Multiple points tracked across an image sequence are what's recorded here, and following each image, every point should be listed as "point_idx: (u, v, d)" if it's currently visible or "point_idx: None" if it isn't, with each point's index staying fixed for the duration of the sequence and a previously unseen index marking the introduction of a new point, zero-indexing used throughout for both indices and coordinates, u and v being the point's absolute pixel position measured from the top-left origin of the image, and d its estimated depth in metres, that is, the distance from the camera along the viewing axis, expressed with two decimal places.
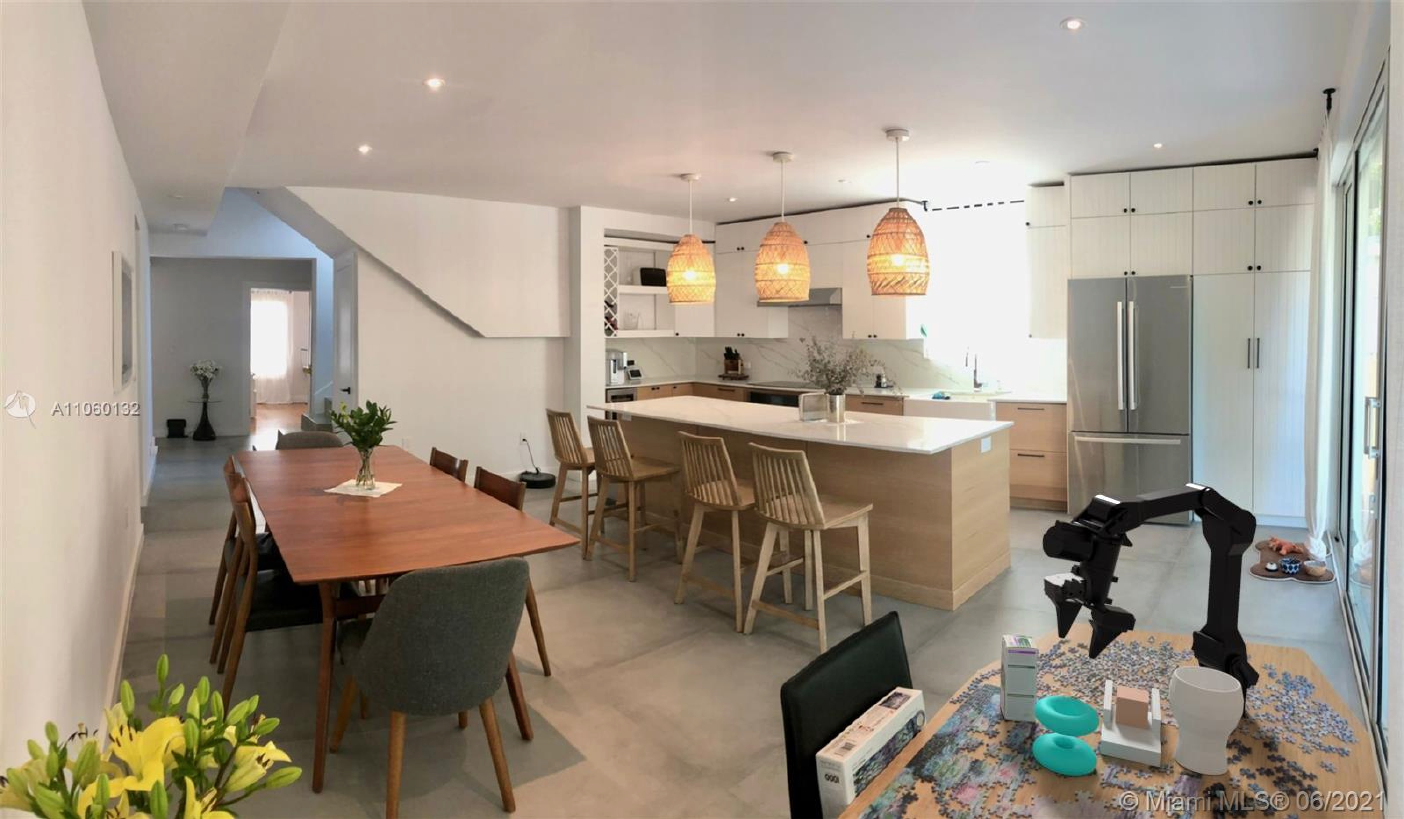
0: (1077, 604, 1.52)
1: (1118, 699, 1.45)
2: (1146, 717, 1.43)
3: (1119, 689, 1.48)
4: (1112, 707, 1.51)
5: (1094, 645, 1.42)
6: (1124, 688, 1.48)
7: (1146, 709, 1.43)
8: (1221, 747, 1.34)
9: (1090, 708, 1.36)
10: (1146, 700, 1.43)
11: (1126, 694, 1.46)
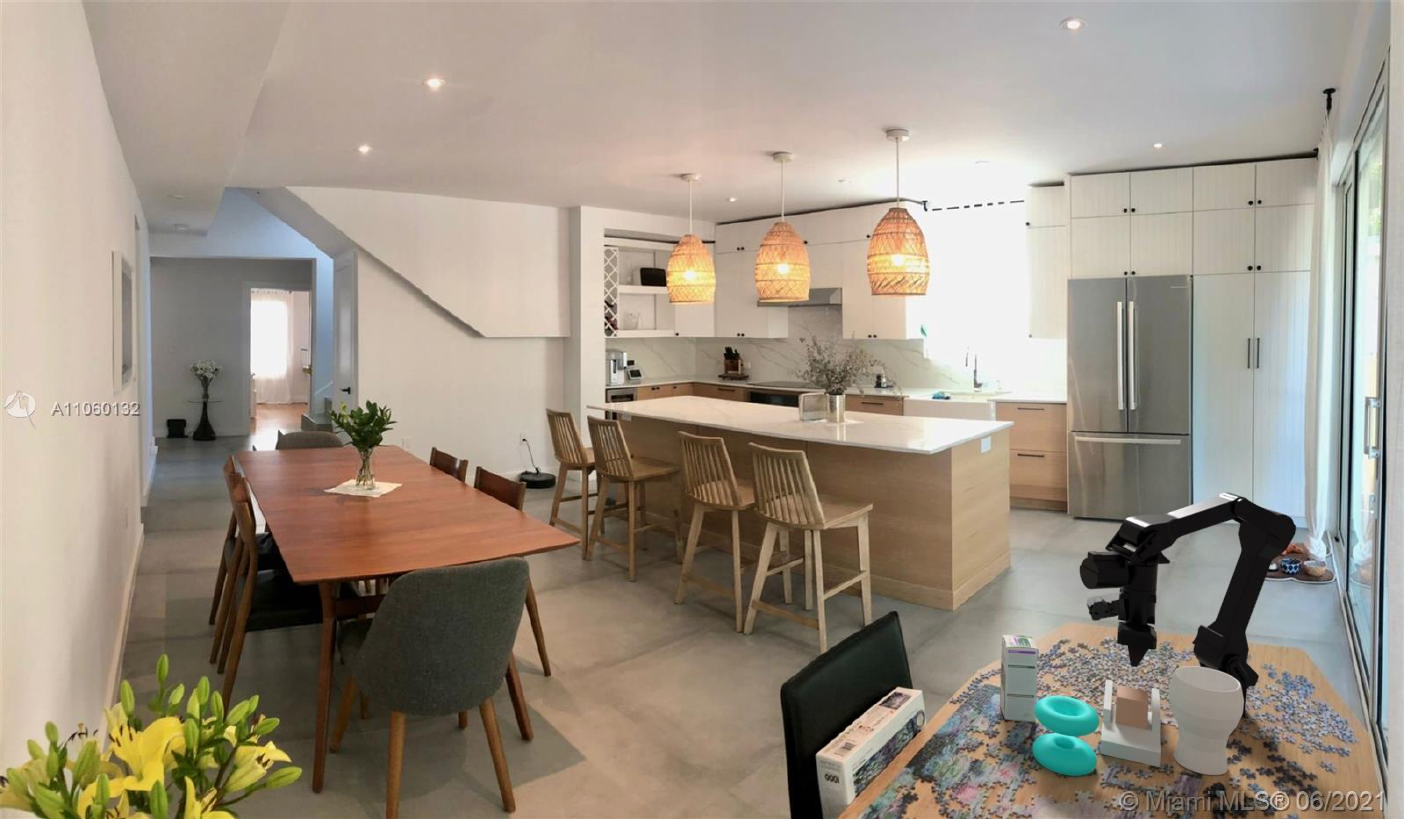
0: None
1: (1118, 699, 1.45)
2: (1146, 717, 1.43)
3: (1119, 689, 1.48)
4: (1112, 707, 1.51)
5: (1129, 654, 1.52)
6: (1124, 688, 1.48)
7: (1146, 709, 1.43)
8: (1221, 747, 1.34)
9: (1090, 708, 1.36)
10: (1146, 700, 1.43)
11: (1126, 694, 1.46)
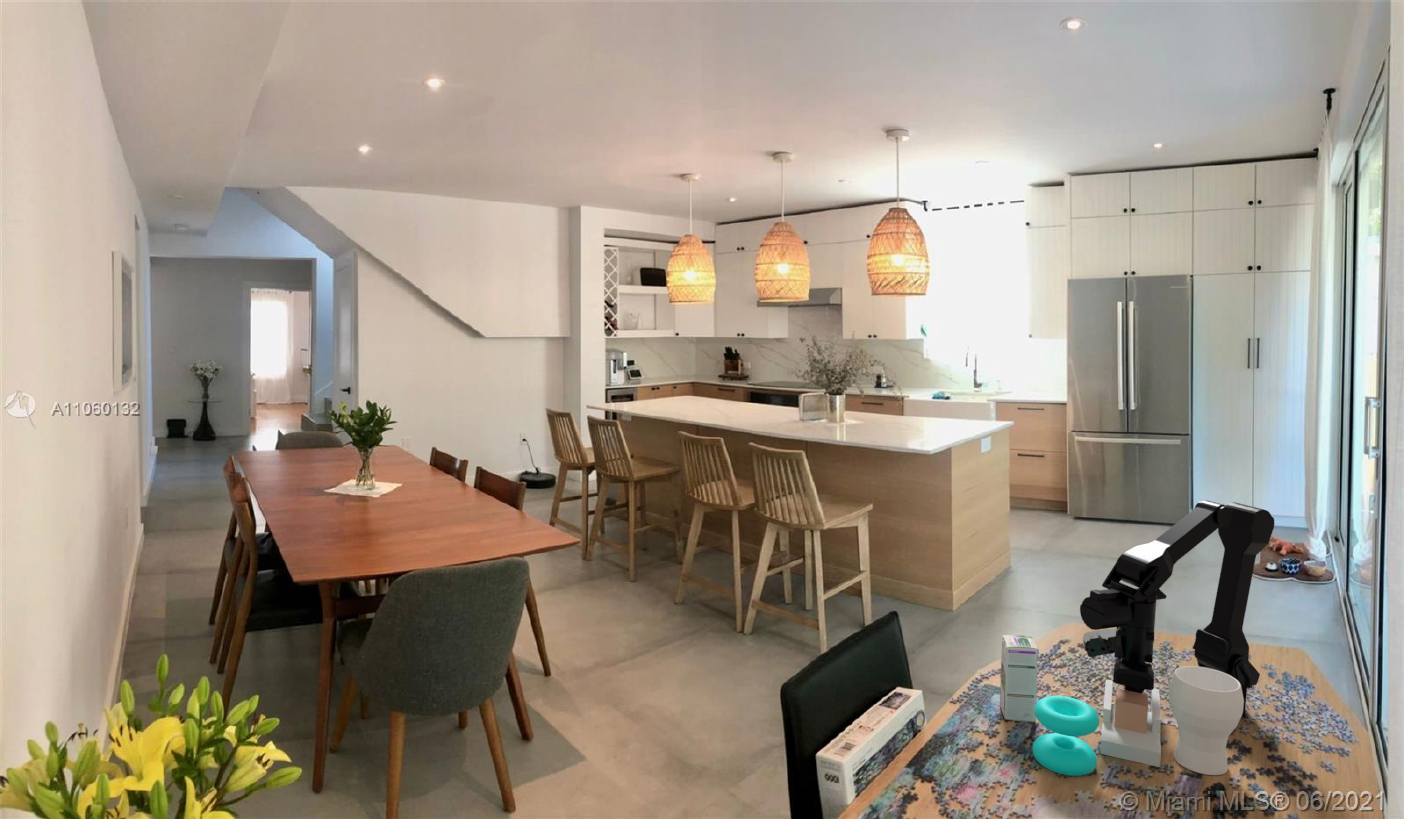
0: None
1: (1117, 703, 1.44)
2: (1145, 721, 1.42)
3: (1119, 692, 1.46)
4: (1112, 707, 1.51)
5: None
6: (1123, 692, 1.47)
7: (1145, 713, 1.42)
8: (1221, 747, 1.34)
9: (1090, 708, 1.36)
10: (1145, 704, 1.42)
11: (1125, 697, 1.45)
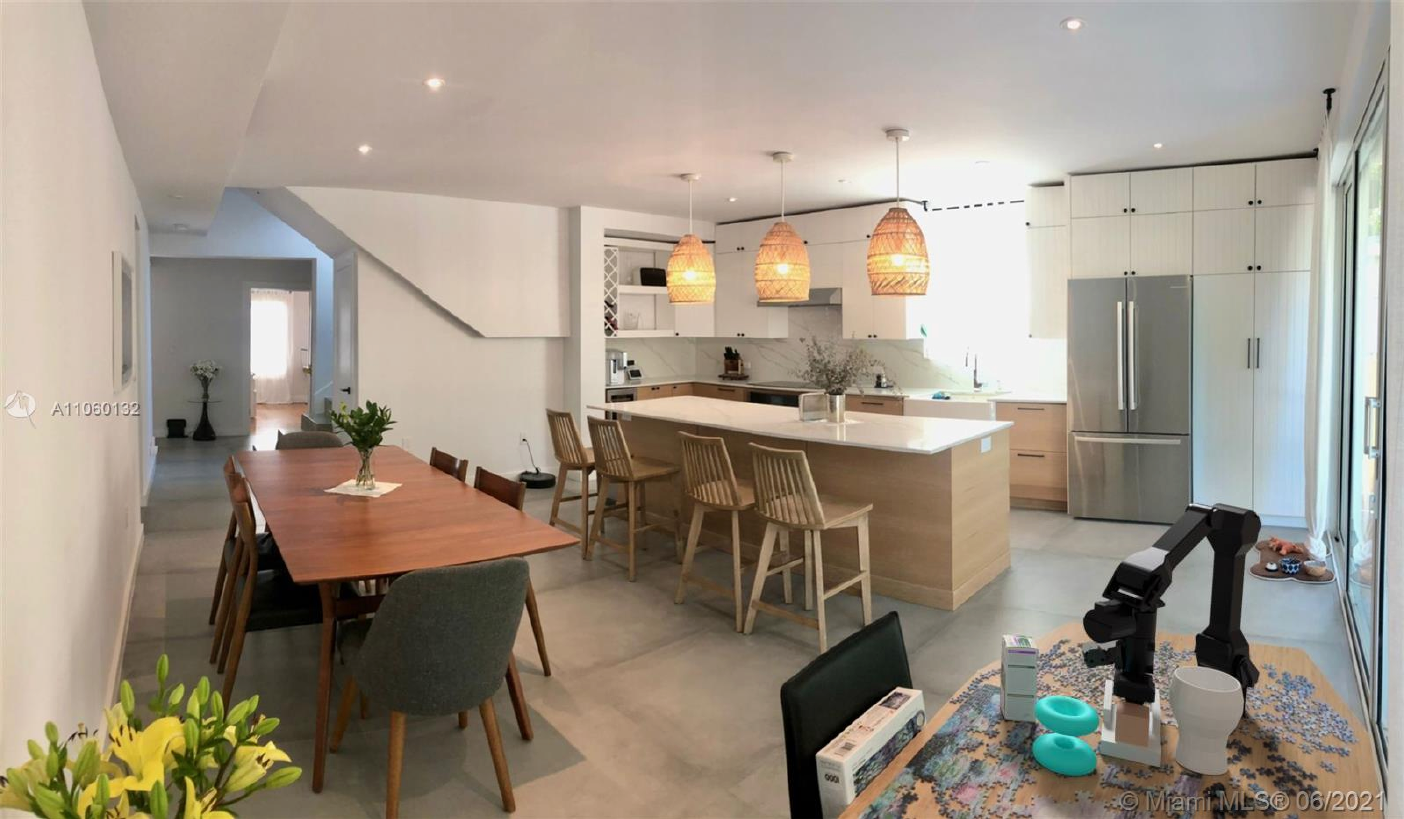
0: None
1: (1118, 715, 1.39)
2: (1147, 734, 1.37)
3: (1119, 704, 1.42)
4: (1112, 707, 1.51)
5: None
6: (1124, 703, 1.42)
7: (1147, 726, 1.37)
8: (1221, 747, 1.34)
9: (1090, 708, 1.36)
10: (1147, 717, 1.38)
11: (1126, 709, 1.40)
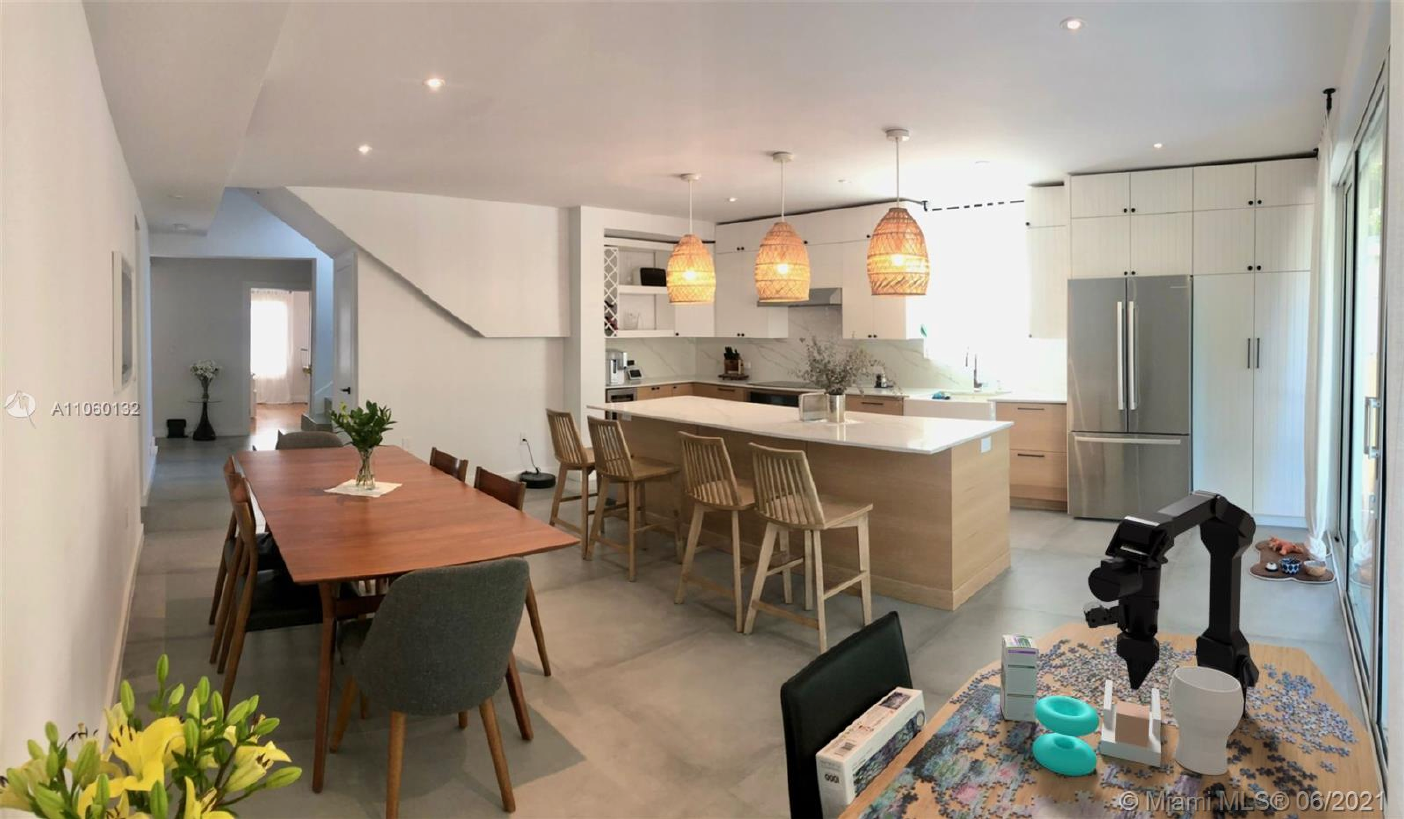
0: (1148, 632, 1.43)
1: (1118, 715, 1.39)
2: (1147, 734, 1.37)
3: (1119, 705, 1.42)
4: (1112, 707, 1.51)
5: (1129, 675, 1.35)
6: (1124, 704, 1.42)
7: (1147, 726, 1.37)
8: (1221, 747, 1.34)
9: (1090, 708, 1.36)
10: (1147, 717, 1.38)
11: (1126, 709, 1.40)
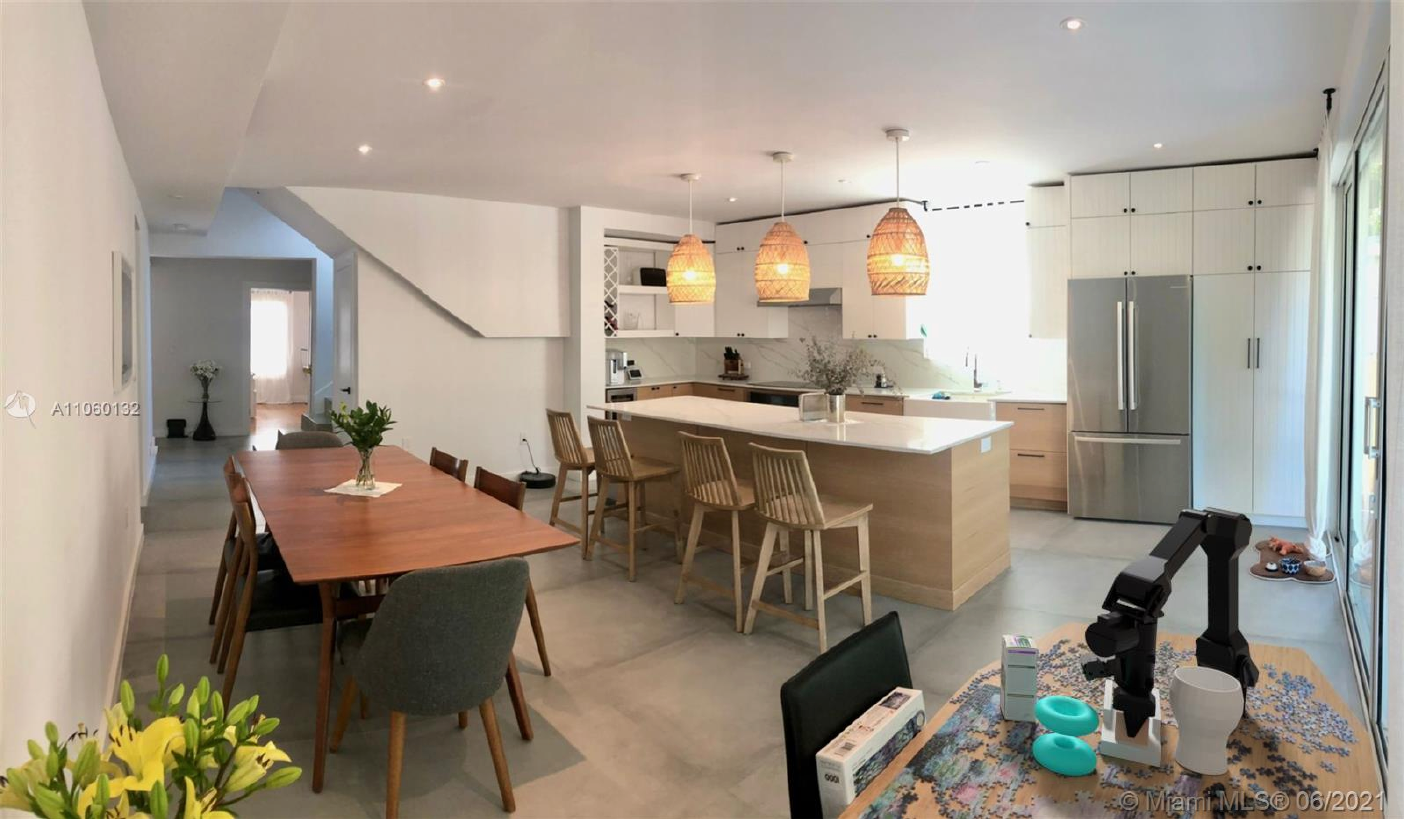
0: (1145, 688, 1.42)
1: (1118, 714, 1.40)
2: (1147, 733, 1.38)
3: None
4: (1112, 707, 1.51)
5: (1126, 723, 1.38)
6: None
7: (1147, 725, 1.38)
8: (1221, 747, 1.34)
9: (1090, 708, 1.36)
10: None
11: None
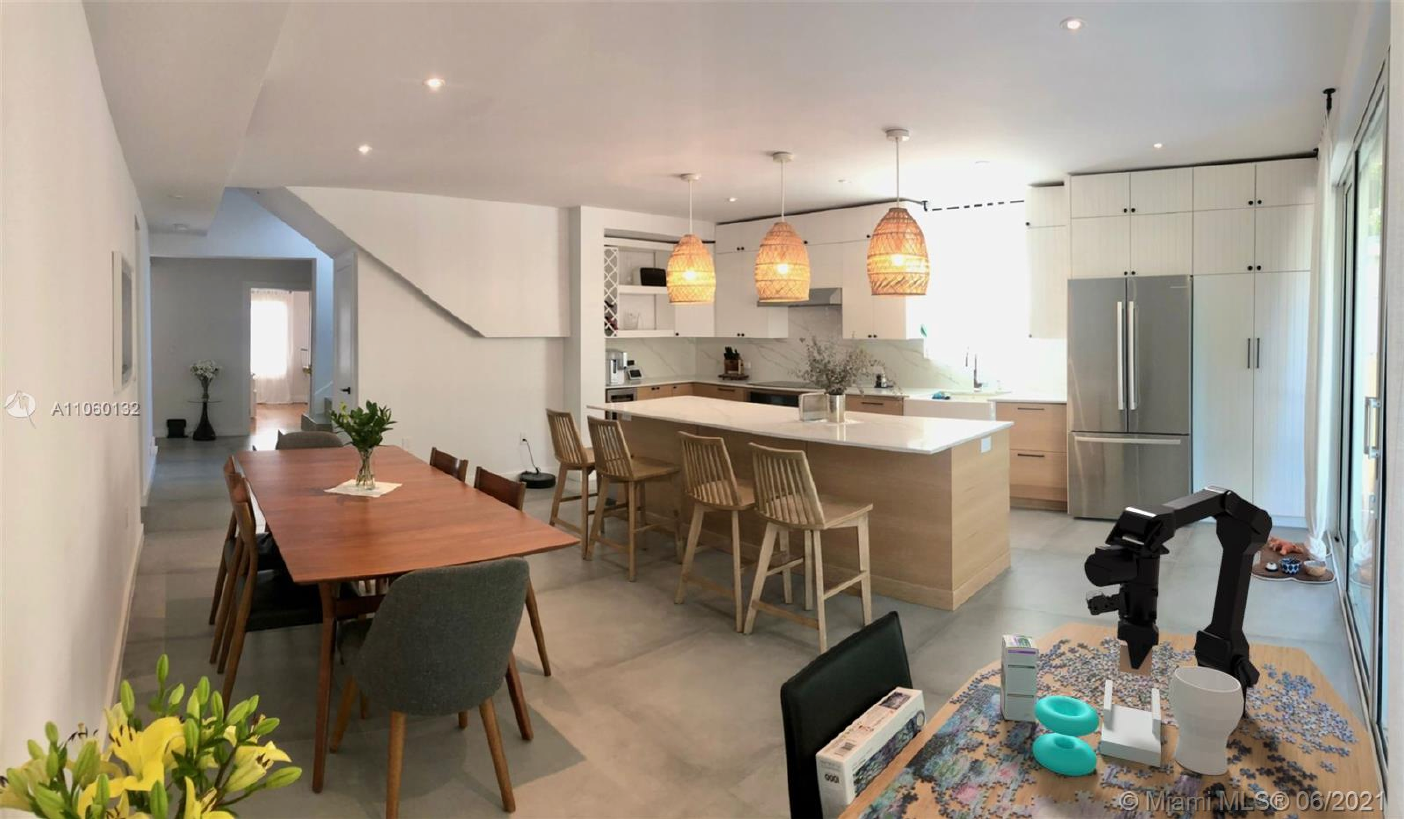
0: None
1: (1122, 647, 1.45)
2: (1150, 664, 1.43)
3: None
4: (1112, 707, 1.51)
5: (1130, 655, 1.43)
6: None
7: (1150, 656, 1.43)
8: (1221, 747, 1.34)
9: (1090, 708, 1.36)
10: None
11: None
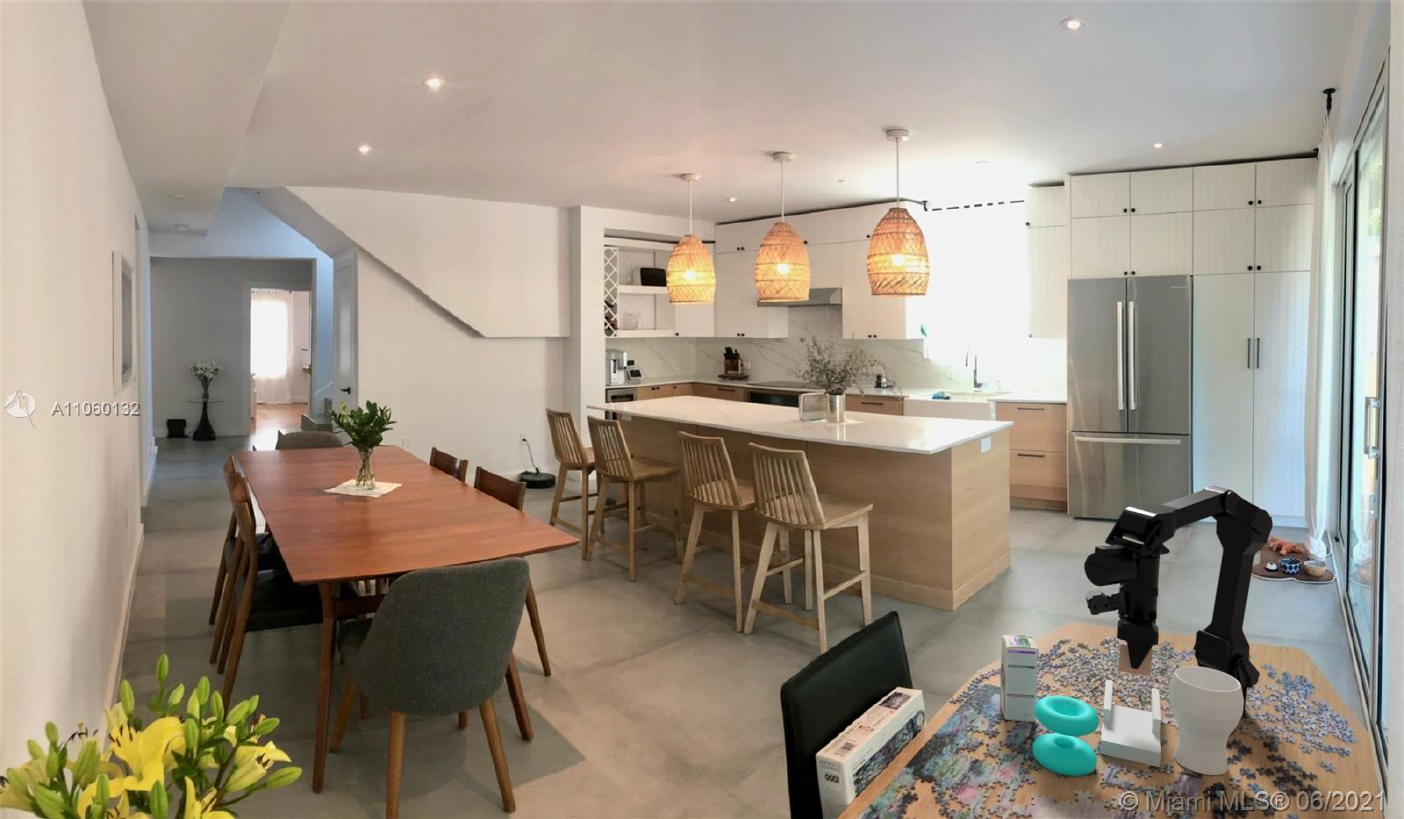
0: None
1: (1122, 646, 1.45)
2: (1150, 664, 1.43)
3: None
4: (1112, 707, 1.51)
5: (1130, 655, 1.43)
6: None
7: (1150, 656, 1.43)
8: (1221, 747, 1.34)
9: (1090, 708, 1.36)
10: None
11: None
